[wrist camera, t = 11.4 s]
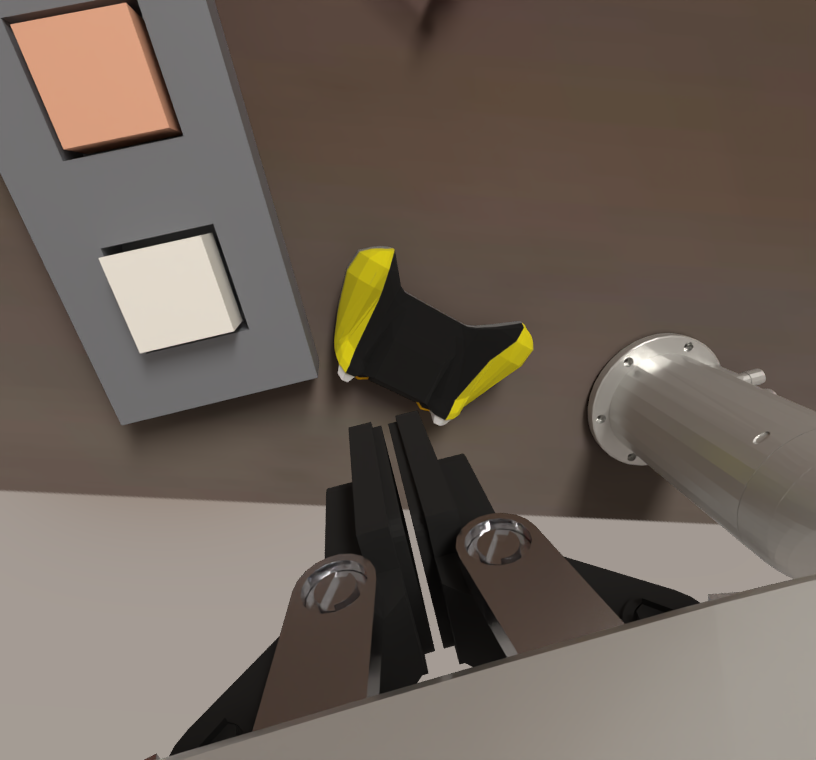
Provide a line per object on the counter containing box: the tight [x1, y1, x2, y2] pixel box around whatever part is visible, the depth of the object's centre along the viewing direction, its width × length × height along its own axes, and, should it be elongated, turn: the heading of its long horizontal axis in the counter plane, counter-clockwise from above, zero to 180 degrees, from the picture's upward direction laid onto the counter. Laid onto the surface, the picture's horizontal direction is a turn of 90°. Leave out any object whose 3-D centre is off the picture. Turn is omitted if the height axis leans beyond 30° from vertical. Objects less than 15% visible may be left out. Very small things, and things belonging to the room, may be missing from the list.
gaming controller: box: [334, 246, 533, 426], centre depth 36 cm, size 15×6×10 cm
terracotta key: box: [10, 3, 183, 154], centre depth 28 cm, size 6×6×3 cm
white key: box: [98, 233, 242, 353], centre depth 31 cm, size 6×6×3 cm
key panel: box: [0, 0, 319, 425], centre depth 31 cm, size 14×28×4 cm, turn 12°
